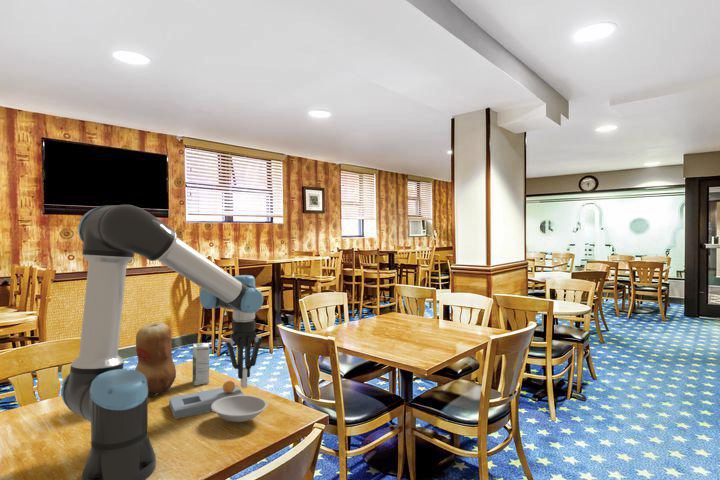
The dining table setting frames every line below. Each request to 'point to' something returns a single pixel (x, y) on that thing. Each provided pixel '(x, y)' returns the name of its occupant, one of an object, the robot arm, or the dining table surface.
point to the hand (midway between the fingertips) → (243, 386)
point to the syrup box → (200, 363)
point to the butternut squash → (155, 357)
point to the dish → (239, 407)
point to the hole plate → (198, 401)
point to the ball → (228, 386)
